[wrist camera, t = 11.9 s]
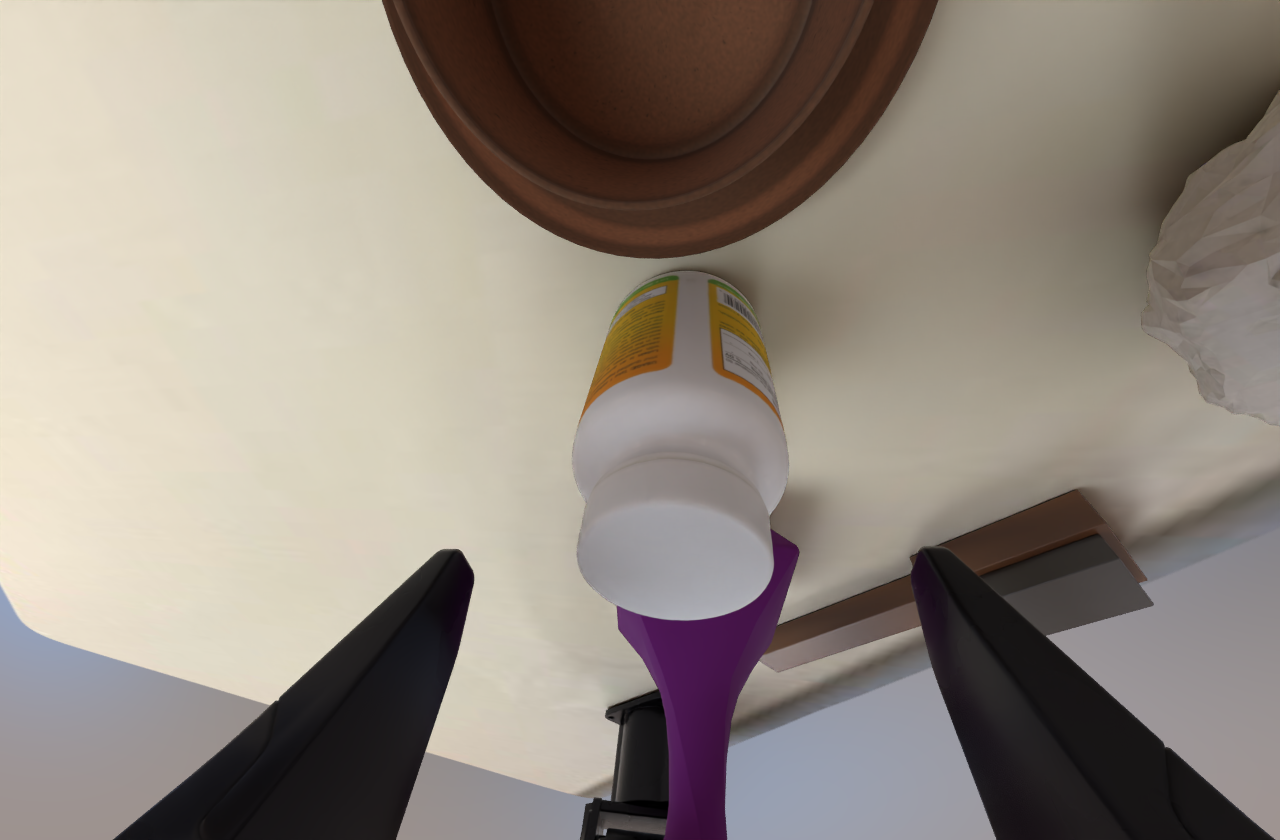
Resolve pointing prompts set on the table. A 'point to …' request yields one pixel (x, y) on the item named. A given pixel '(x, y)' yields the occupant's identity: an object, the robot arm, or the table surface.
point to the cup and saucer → (657, 106)
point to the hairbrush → (992, 583)
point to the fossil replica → (1225, 275)
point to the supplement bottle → (680, 453)
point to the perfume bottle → (706, 692)
